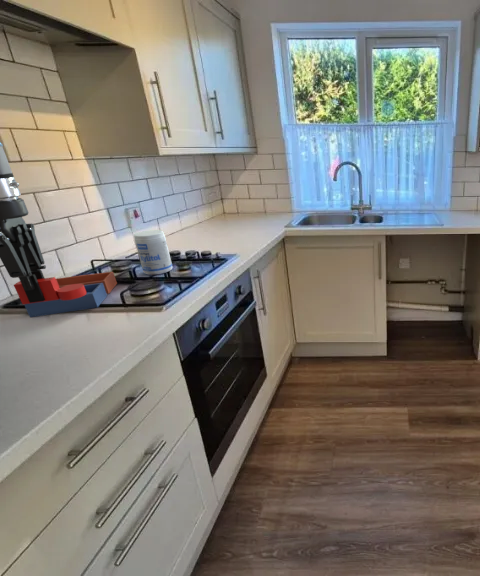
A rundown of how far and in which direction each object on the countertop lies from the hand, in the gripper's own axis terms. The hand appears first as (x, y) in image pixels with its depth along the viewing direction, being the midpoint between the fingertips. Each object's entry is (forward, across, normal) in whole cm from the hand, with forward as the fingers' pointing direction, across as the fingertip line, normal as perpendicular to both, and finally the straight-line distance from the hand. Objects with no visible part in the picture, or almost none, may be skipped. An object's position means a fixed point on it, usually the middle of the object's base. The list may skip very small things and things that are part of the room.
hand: (40, 298), depth 87 cm
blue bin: (+11, +22, +5) cm, 25 cm away
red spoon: (0, 0, -3) cm, 3 cm away
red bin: (+11, +33, +5) cm, 35 cm away
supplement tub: (+11, +46, -14) cm, 50 cm away
